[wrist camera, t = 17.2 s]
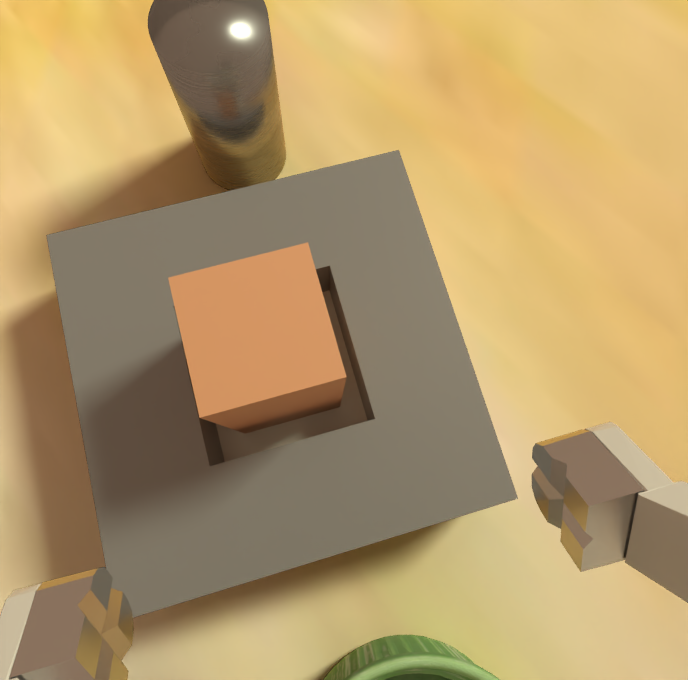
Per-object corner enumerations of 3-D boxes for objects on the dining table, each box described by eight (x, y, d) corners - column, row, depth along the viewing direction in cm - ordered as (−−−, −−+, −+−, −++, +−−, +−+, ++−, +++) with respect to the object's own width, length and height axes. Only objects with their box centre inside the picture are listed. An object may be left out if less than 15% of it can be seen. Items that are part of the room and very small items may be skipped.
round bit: (295, 180, 26) (281, 57, 18) (212, 201, 25) (161, 83, 17) (274, 109, 26) (252, -39, 19) (194, 127, 26) (137, -16, 18)
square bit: (339, 407, 22) (346, 376, 14) (245, 433, 22) (199, 418, 14) (314, 316, 23) (307, 242, 15) (222, 341, 23) (168, 277, 15)
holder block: (484, 492, 23) (517, 498, 19) (154, 593, 21) (116, 623, 17) (387, 197, 25) (398, 150, 22) (91, 271, 24) (46, 235, 20)
